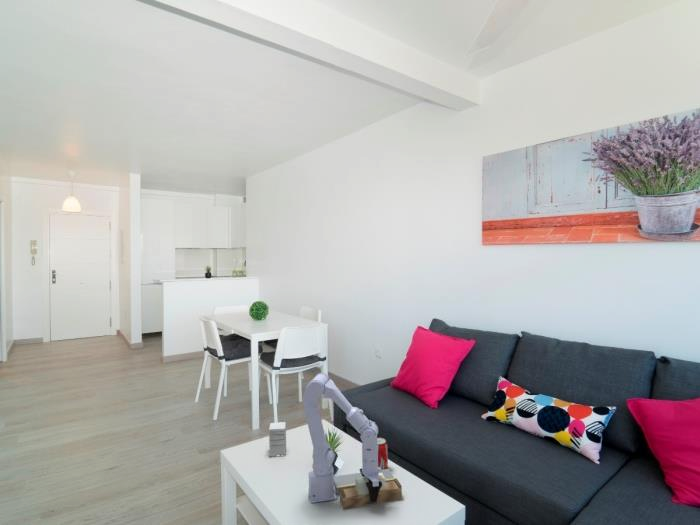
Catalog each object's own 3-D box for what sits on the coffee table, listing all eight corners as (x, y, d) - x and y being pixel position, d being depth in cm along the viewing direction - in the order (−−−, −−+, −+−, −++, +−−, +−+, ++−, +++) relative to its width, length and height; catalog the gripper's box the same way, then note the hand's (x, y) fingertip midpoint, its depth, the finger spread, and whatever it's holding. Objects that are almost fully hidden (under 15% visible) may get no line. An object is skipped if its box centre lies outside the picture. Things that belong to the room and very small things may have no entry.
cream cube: (374, 491, 137) (374, 480, 137) (371, 485, 141) (371, 474, 141) (385, 489, 138) (385, 478, 138) (382, 483, 142) (381, 472, 142)
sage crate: (358, 495, 135) (358, 483, 135) (355, 488, 138) (355, 477, 138) (369, 493, 136) (369, 481, 136) (366, 487, 139) (365, 476, 140)
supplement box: (270, 449, 178) (270, 422, 178) (286, 448, 179) (286, 421, 179) (269, 457, 170) (268, 429, 170) (285, 456, 171) (285, 428, 171)
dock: (336, 494, 142) (336, 487, 142) (333, 482, 150) (333, 476, 150) (395, 486, 147) (395, 479, 147) (388, 474, 154) (388, 468, 154)
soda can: (387, 474, 155) (386, 445, 155) (369, 473, 156) (369, 443, 156) (388, 465, 162) (388, 437, 162) (372, 464, 163) (371, 436, 163)
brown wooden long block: (343, 510, 133) (342, 495, 133) (339, 502, 138) (339, 487, 138) (401, 500, 138) (401, 485, 139) (396, 492, 143) (396, 478, 143)
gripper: (386, 466, 132) (387, 505, 132) (375, 447, 146) (375, 482, 146) (367, 469, 131) (367, 508, 131) (357, 449, 145) (357, 485, 145)
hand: (370, 495), depth 138 cm, fingers open, 7 cm apart
